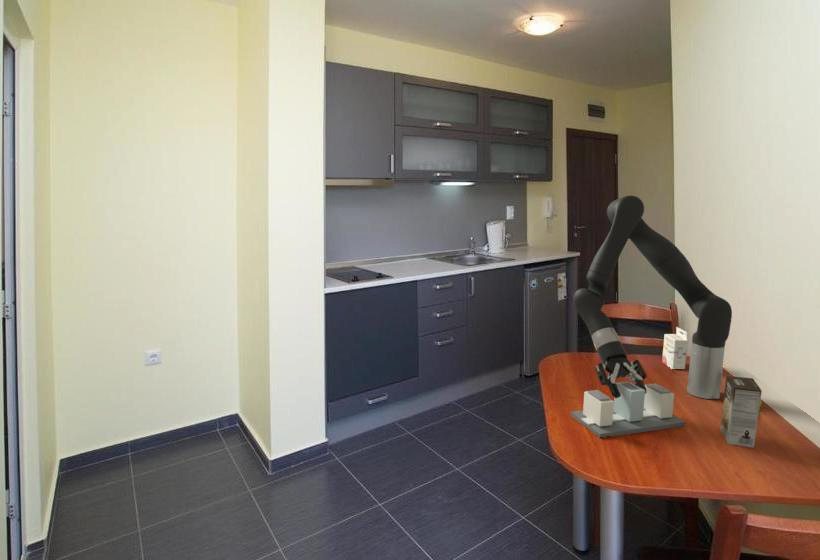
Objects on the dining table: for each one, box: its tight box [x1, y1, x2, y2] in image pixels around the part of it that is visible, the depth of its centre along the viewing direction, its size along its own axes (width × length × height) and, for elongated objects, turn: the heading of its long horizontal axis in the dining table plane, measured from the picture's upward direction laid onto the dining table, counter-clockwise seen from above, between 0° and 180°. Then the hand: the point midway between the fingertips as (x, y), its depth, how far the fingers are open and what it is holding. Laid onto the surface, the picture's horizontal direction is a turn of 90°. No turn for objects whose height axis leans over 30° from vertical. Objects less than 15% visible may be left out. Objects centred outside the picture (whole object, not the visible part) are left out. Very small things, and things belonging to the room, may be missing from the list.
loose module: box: [613, 381, 645, 422], centre depth 140 cm, size 4×7×9 cm, turn 14°
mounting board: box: [570, 409, 687, 439], centre depth 141 cm, size 28×14×2 cm, turn 104°
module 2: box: [644, 382, 675, 419], centre depth 143 cm, size 4×8×8 cm, turn 14°
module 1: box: [582, 389, 614, 426], centre depth 138 cm, size 4×8×8 cm, turn 14°
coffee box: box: [720, 375, 763, 449], centre depth 130 cm, size 9×6×16 cm
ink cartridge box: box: [661, 326, 688, 370], centre depth 185 cm, size 9×5×15 cm, turn 179°
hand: (631, 395), depth 139 cm, fingers open, 8 cm apart
